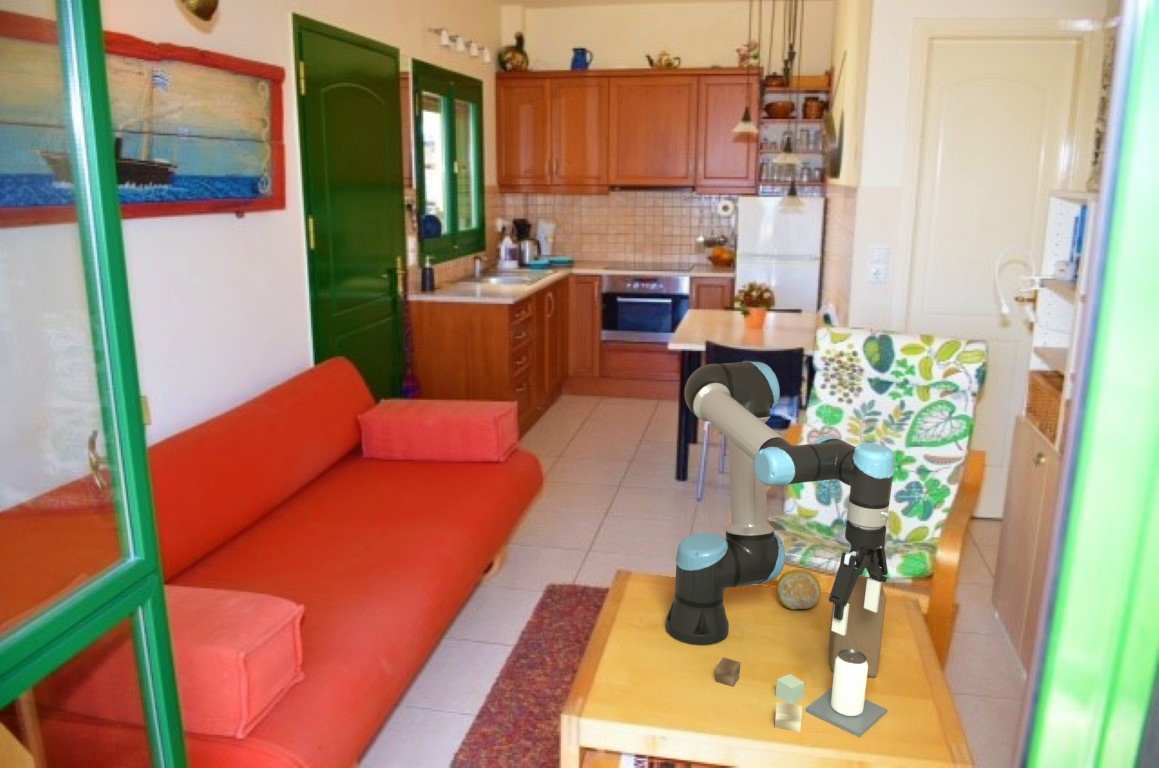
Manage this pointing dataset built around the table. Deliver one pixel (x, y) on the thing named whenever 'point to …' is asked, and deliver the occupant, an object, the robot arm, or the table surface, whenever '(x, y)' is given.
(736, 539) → the robot arm
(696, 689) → the table surface
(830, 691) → the slate coaster
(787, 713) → the pale birch block
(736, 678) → the walnut block
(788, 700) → the sage painted cube
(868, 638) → the wooden block
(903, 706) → the table surface
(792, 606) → the fruit
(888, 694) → the table surface
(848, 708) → the can
